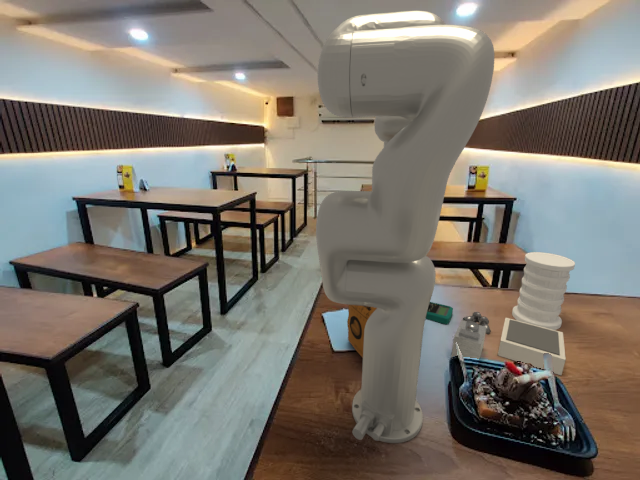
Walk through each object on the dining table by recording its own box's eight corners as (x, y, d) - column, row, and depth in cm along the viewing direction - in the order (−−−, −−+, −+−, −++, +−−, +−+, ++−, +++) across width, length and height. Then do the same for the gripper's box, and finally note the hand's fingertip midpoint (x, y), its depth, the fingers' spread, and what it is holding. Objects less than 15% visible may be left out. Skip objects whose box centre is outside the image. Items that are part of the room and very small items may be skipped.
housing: (477, 367, 70) (481, 340, 68) (451, 358, 73) (454, 332, 71) (482, 348, 76) (487, 323, 74) (458, 341, 79) (462, 316, 77)
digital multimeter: (402, 302, 99) (403, 293, 98) (453, 314, 92) (454, 305, 91) (395, 312, 93) (395, 303, 92) (448, 327, 86) (449, 317, 85)
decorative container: (571, 326, 85) (588, 264, 80) (538, 333, 82) (553, 269, 77) (533, 306, 96) (545, 249, 90) (502, 311, 93) (513, 253, 87)
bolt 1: (467, 325, 86) (469, 317, 85) (461, 320, 88) (462, 313, 87) (480, 321, 87) (482, 314, 87) (474, 317, 89) (475, 310, 89)
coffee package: (363, 372, 68) (368, 279, 62) (342, 339, 79) (344, 258, 73) (404, 363, 71) (412, 273, 64) (378, 333, 82) (383, 253, 76)
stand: (561, 375, 67) (565, 358, 66) (497, 355, 74) (500, 339, 72) (559, 346, 77) (563, 331, 75) (502, 330, 83) (505, 316, 82)
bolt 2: (491, 334, 82) (493, 326, 81) (481, 333, 82) (483, 325, 81) (487, 324, 86) (489, 317, 85) (477, 323, 86) (479, 315, 86)
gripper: (409, 167, 68) (403, 242, 73) (418, 163, 83) (412, 225, 88) (375, 166, 71) (371, 239, 76) (389, 162, 86) (385, 223, 91)
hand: (393, 231), depth 82 cm, fingers open, 9 cm apart
